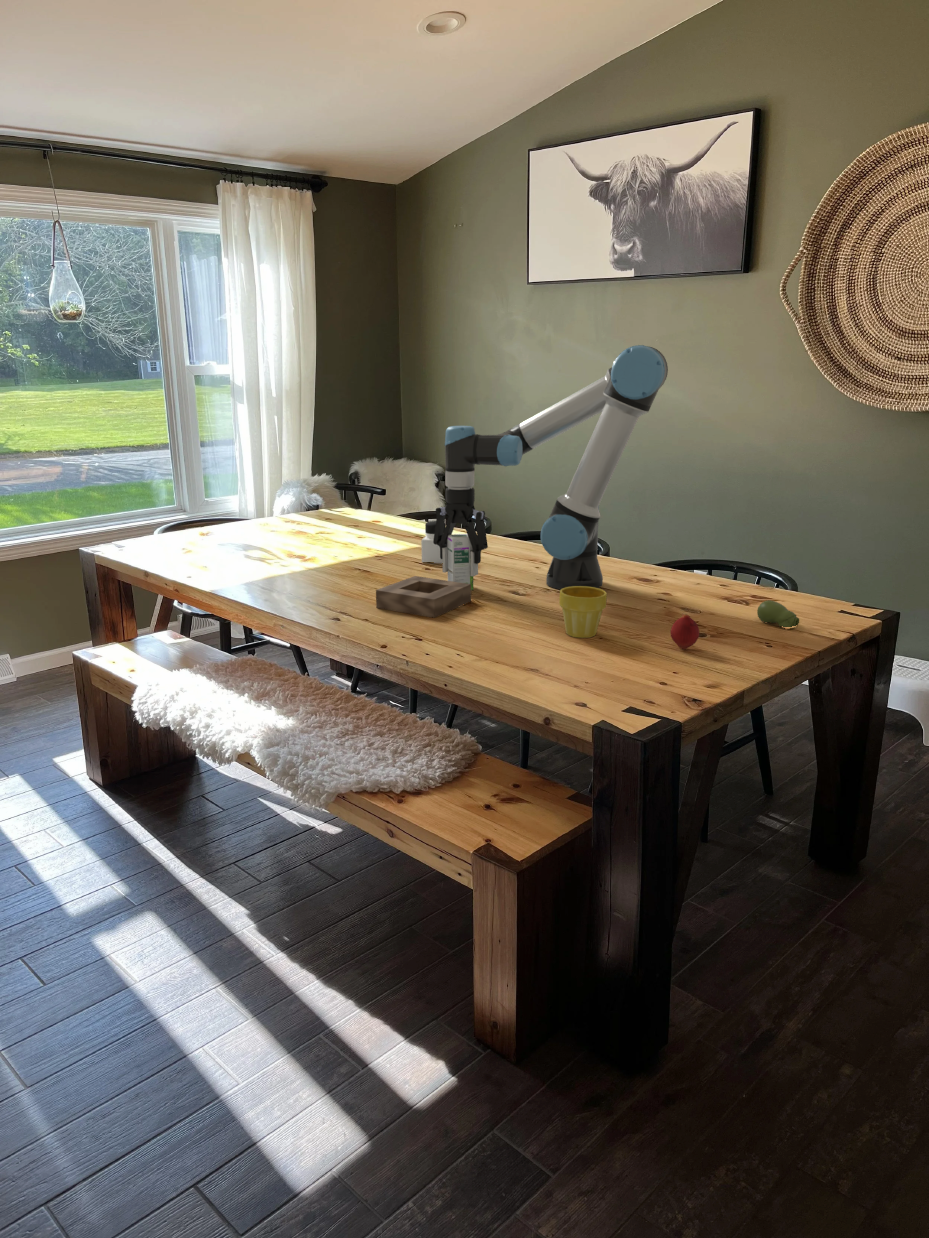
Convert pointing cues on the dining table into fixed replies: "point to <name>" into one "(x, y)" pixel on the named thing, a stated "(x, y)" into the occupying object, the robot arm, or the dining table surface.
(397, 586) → the socket block
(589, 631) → the plant pot
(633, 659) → the dining table surface
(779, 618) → the pear
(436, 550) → the medicine bottle
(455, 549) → the syrup box
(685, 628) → the onion
